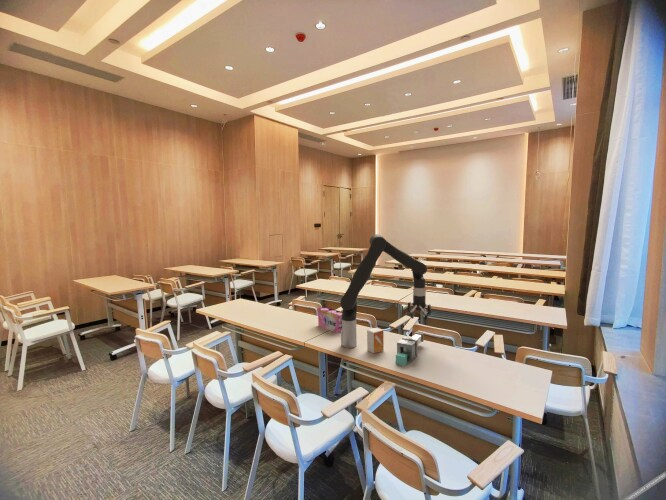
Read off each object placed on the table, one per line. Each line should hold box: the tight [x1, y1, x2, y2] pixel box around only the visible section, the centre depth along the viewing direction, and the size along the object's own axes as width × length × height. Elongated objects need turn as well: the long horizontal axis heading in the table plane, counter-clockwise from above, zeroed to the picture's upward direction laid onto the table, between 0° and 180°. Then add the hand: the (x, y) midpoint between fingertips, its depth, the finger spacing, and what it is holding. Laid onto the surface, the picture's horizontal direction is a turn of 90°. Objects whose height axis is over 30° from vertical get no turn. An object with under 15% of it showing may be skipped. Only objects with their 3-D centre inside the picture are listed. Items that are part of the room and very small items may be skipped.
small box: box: [366, 327, 385, 354], centre depth 188 cm, size 8×6×13 cm
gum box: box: [317, 306, 343, 333], centre depth 232 cm, size 24×8×14 cm, turn 39°
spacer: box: [395, 352, 408, 367], centre depth 171 cm, size 5×5×4 cm
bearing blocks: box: [396, 336, 419, 363], centre depth 178 cm, size 9×10×10 cm
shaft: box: [403, 331, 425, 353], centre depth 186 cm, size 5×24×5 cm, turn 146°
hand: (419, 319), depth 195 cm, fingers open, 8 cm apart
